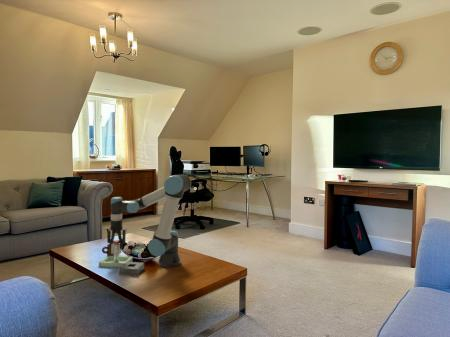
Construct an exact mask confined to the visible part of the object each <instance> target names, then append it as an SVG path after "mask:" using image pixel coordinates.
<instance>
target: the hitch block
mask: <svg viewBox="0 0 450 337" xmlns="http://www.w3.org/2000/svg"><path fill="white" fill-rule="evenodd" d="M144 269H145V262H138V261H137V262H136V261H134V262H133V261H132V262H126V263H125V264H123V265H122V266H121V267H120V268H118V275H122V276H138V275H139V274H140V273H141V272H142V271H143V270H144Z"/></svg>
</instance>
